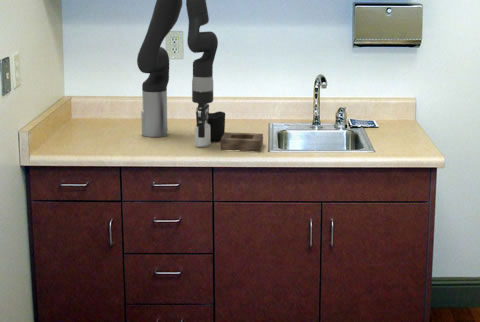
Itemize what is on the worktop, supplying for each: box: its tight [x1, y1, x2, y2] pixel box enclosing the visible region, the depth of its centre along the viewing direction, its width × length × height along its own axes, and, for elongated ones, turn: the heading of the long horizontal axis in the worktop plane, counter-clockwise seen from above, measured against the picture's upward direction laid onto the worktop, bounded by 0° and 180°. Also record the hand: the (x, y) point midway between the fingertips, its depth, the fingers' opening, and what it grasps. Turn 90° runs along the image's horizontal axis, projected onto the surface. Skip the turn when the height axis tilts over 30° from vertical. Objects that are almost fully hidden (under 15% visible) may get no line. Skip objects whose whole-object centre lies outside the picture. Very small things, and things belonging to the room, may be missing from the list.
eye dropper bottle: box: [194, 121, 211, 148], centre depth 278 cm, size 4×6×12 cm
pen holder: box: [207, 110, 226, 143], centre depth 289 cm, size 9×9×10 cm
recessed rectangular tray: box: [220, 131, 264, 152], centre depth 279 cm, size 14×11×4 cm
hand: (202, 135), depth 279 cm, fingers closed on eye dropper bottle, 4 cm apart
